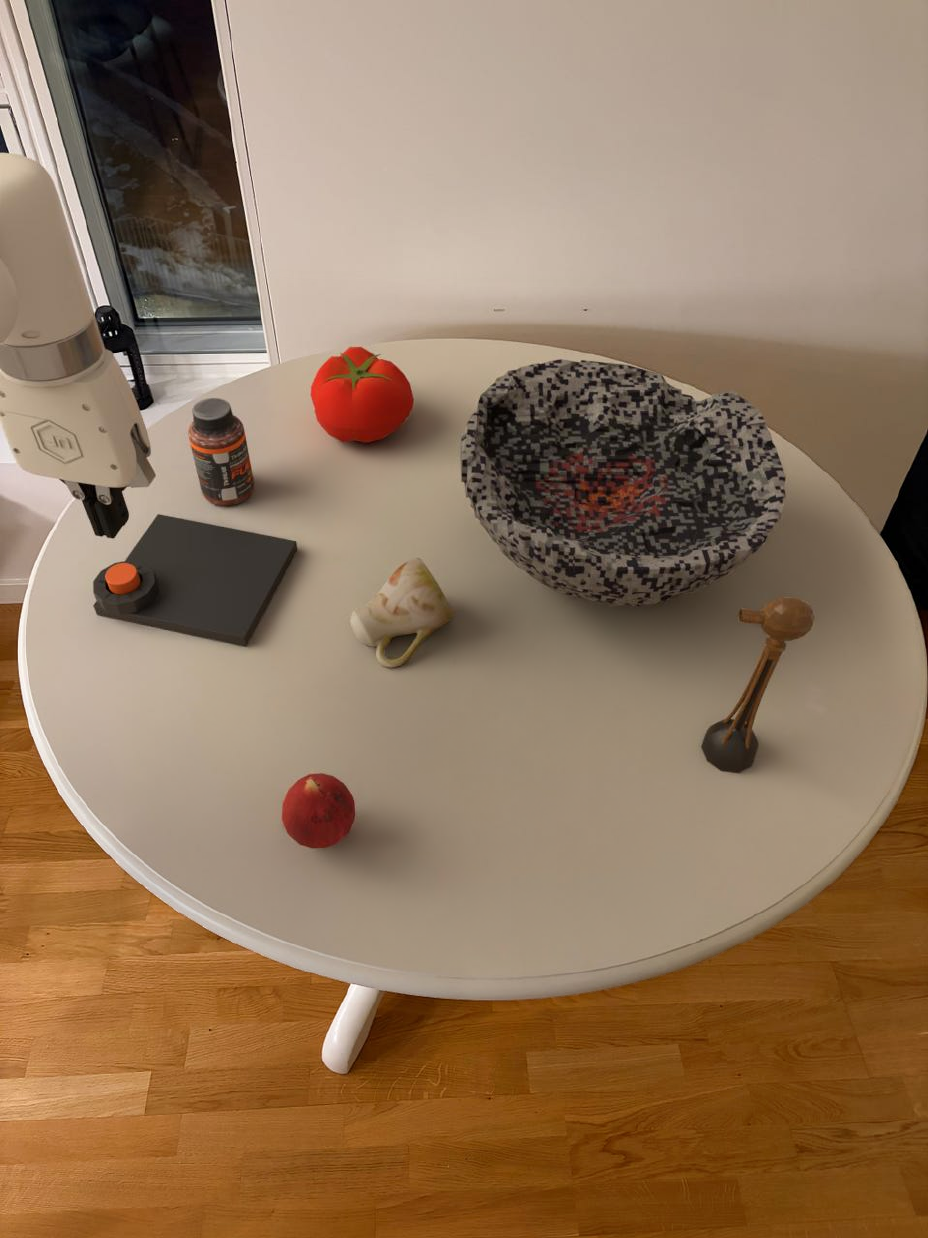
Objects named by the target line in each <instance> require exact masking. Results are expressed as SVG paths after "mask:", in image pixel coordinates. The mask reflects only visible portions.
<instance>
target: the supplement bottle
mask: <svg viewBox="0 0 928 1238" xmlns="http://www.w3.org/2000/svg"><path fill="white" fill-rule="evenodd" d="M191 411H192V416H193V418H192V419H193V420H192V422H191V423H190V424H189V427H188V430H187V435H188V439H189V444H190V447H191V448H190V449H191V452H192V456H193V461H194V465H195V469H196V475H197V477H198V482H199V486H200V490H201V494H202V496H203V497H204V498H205V500H206V501H208V502H210V503H211V504H214V505H217V506H234V505H237V504H240V503H242V502H244V501H245V500H247V499H248V498H250V496H251V495H252V494H253V493H254V489H255V483H254V475H253V470H252V464H251V458H250V453H249V447H248V441H247V436H246V432H245V427H244V423H243V421H242V420H241V419H240V418H239V417H237V416H236V415H234V414H233V411H232V406H231V404H230V403H229V402H228V400H226V399H223V398H219V397H209V398H204V399H201V400H199V401H198V402H196V403H195V404H194V405H193V407H192V410H191Z"/></svg>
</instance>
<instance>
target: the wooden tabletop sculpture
mask: <svg viewBox="0 0 928 1238" xmlns="http://www.w3.org/2000/svg"><path fill="white" fill-rule="evenodd" d="M815 620H816V616H815V613H814V610H813V608H812V606H811V605H810V604H809V603H808V602H807V601H806V600H802V599H801V598H798V597H792V596H791V597H790V596H789V597H788V596H787V597H786V596H785V597H784V596H782V597H779V598H775V599H774V600H772V601H771V602H769V603H768V604H766V605H765V606H764V608H763V609H762V610H759V609H751V608H740V609H739V611H738V623H745V624H752V625H753V624H754V625H760V628H761V629H762V631H763V632H764V634H766V635H767V636H768V637H766V638H765V642H764V647H763V649H762V652H761V654H760V656H759V658H758V661H757V663H756V665H755V668H754V670H753V672H752V674H751V676H750V678H749V681H748V682H747V685H746V687H745V689H744V691H743V692H742V694H741V696H740V698H739V699H738V702H737V703H736V705H735V706H734V707H733V709H732V710H731V712H730V713H729V714H728V715H727V716H726V717H725V718H723V719H721V720H720V721H717V722H716V723H714V724H712V725H710V726H709V727H708V728H707V730H706V733H705V734H704V737H703V740H702V743H701V746H700V748H701V751H702V752H703V755H704V757H705V759H706V762H708V763H709V764H711V765H712V766H714V767H715V768H716V769H718V770H719V771H721V772H727V773H735V774H740V773H741V772H743V771H746V770H747V769H750V768H752V766H753V764H754V762H755V759H756V756H757V752H758V750H759V741H758V738H757V736H756V734H755V732H754V730H753V726H754V723H755V720H756V716H757V713H758V711H759V707H760V704H761V701H762V698H763V697H764V694H765V691H766V689H767V687H768V685H769V682H770V681H771V678H772V676H773V673H774V671H775V670H776V667H777V665H778V663H779V660H780V658H781V656H782V654H783V652H784V651H785V650H786V648H787V643H786V642H791V641H796V640H799V639H801V638H803V637H805V636H806V635H807V634H808V633H809V632H810V631H812V628H813V626H814V624H815ZM734 716H735V717H734ZM733 717H734V718H733Z"/></svg>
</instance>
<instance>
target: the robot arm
mask: <svg viewBox="0 0 928 1238" xmlns="http://www.w3.org/2000/svg"><path fill="white" fill-rule="evenodd" d="M87 288H88V287H87V285H86V282H85V278H84V275H83V271H82V268H81V265H80V262H79V258H78V255H77V252H76V248H75V246H74V241H73V238H72V235H71V232H70V228H69V225H68V222H67V219H66V215H65V212H64V209H63V206H62V202H61V199H60V196H59V193H58V190H57V187H56V184H55V182H54V179H53V178H52V176H51V174H50V173H49V172H48V171H47V170H46V168H45V167H44V166H43V165H42V164H41V163H39V162H38V161H36V160H34V159H32V158H31V157H27V156H25V155H22V154H17V153H10V152H0V424H1V427H2V431H3V433H4V436H5V439H6V442H7V444H8V446H9V449H10V452H11V454H12V456H13V458H14V460H15V461H16V464H17V465H18V467H20V468H21V469H22V470H23V471H25V472H27V473H30V474H33V475H35V476H41V477H46V478H52V479H57V480H59V481H61V482H62V483H63V484H64V485H66V488H67V489H68V490H69V492H70V494H71V496H72V497H73V498H74V499H76V500H77V501H81V503H82V505H83V507H84V510H85V513H86V516H87V518H88V520H89V522H90V526H91V528H92V530H93V533H94V535H95V536H96V537H100V538H102V537H104V536H105V537H106V538H107V539H115V538H116V537H117V535H118V534H119V532H120V531H121V529H122V528H123V527H124V526H126V524H127V523H128V521H129V518H130V511H129V509H128V504H127V502H126V500H125V497H124V493H123V492H124V491H125V490H126V489H127V488H131V489H137V488H138V489H139V488H149V487H150V485H151V484H152V483H153V481H154V480H155V479H156V477H157V474H156V473H155V470H154V469H153V467H152V464H151V463H150V461H149V460H148V458H149V457H151V454H152V448H151V447H152V446H151V441H150V438H149V434H148V429H147V427H146V424H145V421H144V417H143V415H142V412H141V410H140V407H139V405H138V402H137V400H136V399H137V398H136V397H135V394H134V392H133V390H132V388H131V385H130V384H129V382H128V379H127V377H126V375H125V372H124V371H123V368H122V367H121V365H120V364H119V362H118V360H117V359H116V356H115V355H114V353H113V351H111V350H109V349H106V347H105V344H104V341H103V337H102V333H101V331H100V328H99V324H98V320H97V318H96V317H97V316H96V314H95V311H94V308H93V304H92V301H91V298H90V295H89V291H88V289H87Z"/></svg>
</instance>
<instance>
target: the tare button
mask: <svg viewBox="0 0 928 1238" xmlns="http://www.w3.org/2000/svg"><path fill="white" fill-rule="evenodd" d="M105 578H106V581H107V584H108V586H109V589H110V590H111V592H113V593H114V594H117V595H125V594H130V593H132V592H133V591H135V590H136V589H137V588H138V587H139V585H140V578H139V575H138V572H137V569H136V568H135V566H133V565H132V564H129V563H120V564H116V565H114V566H112V567H111V568H109V569H108V571H107V572H106V575H105Z"/></svg>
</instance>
